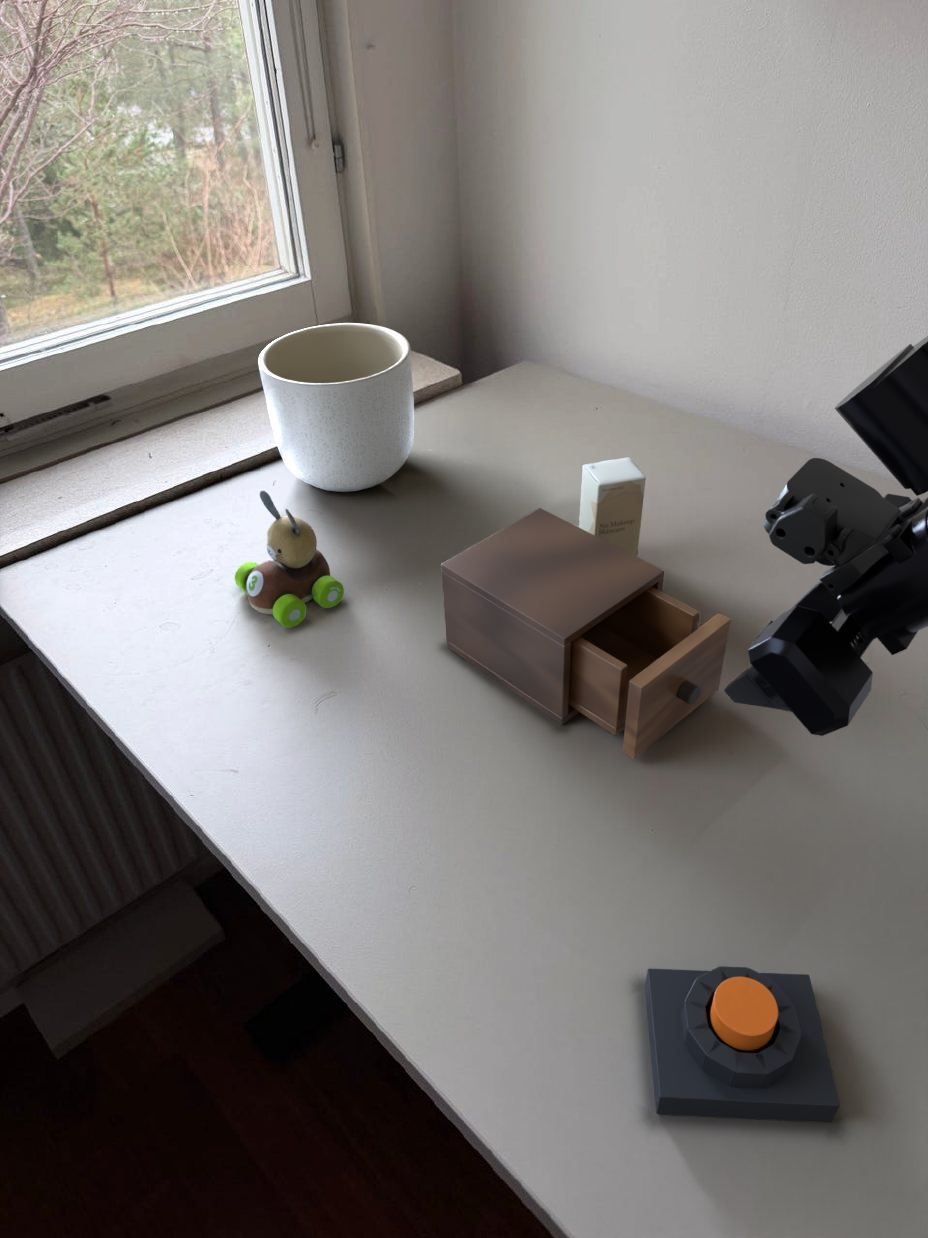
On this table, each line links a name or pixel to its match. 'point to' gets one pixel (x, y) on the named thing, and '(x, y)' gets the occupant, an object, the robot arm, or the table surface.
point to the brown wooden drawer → (646, 667)
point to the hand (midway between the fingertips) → (761, 656)
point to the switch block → (737, 1051)
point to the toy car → (289, 571)
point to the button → (744, 1013)
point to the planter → (340, 403)
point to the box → (613, 502)
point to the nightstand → (536, 602)
